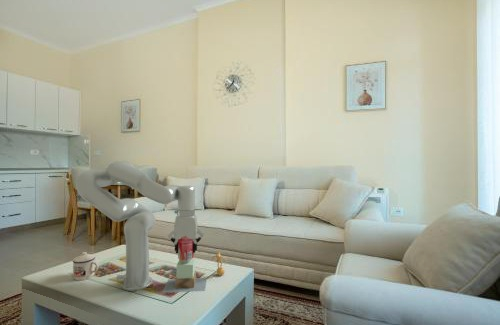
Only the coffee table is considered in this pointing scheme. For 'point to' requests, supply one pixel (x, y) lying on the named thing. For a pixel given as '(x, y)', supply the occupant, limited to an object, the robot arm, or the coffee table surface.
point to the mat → (199, 286)
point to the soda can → (185, 249)
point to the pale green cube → (185, 269)
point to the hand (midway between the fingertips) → (185, 251)
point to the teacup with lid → (84, 266)
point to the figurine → (220, 270)
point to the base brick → (185, 282)
